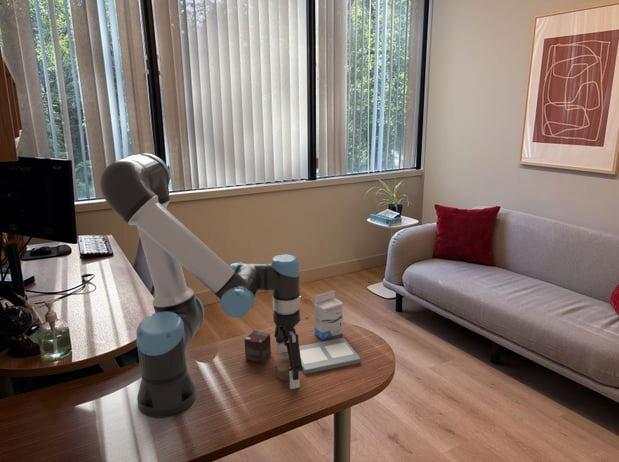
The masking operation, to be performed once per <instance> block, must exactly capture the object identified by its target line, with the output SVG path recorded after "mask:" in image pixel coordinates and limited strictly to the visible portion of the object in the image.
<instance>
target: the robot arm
mask: <svg viewBox="0 0 619 462" xmlns="http://www.w3.org/2000/svg"><path fill="white" fill-rule="evenodd" d="M170 180H171V172H170V169H169V167H168V166H167V164H166V163H165V161H164V160H163V159H161V158H160V157H158V155H155V154H151V153H145V152H144V153H136V154H133V155H130V156H127V157H123V158H122V159H118V160H115V161H113V162H111V163H110V164H109V165H107V166H106V167H105V169H104V170H103V171H102V173H101V176H100V181H99V186H100V192H101V195H102V196H103V199H104V200H105V202H106V203H107V205H108V206H109V207H110V208H111V209H112V211H113V212H114V213H115V214H116V215H117V216H118V217H119V218H120V219H122V220H123V221H124V222H125V223H126V224H127V225H128V226H136V228H137V232H138V235H139V236H138V237H139V239H140V242H141V246H142V250H143V253H144V256H145V260H146V263H147V267H148V271H149V274H150V277H151V278H150V279H151V281H152V284H153V288H154V292H155V297H154V298H153V300H152V306H153V311H154V313H152V314H151V315H148V316H146V317H144V319H142V320H141V322H139V324H138V325H137V328H136V339H135V341H136V342H135V343H136V346H137V352H138V358H139V368H140V373H141V374H140V375H141V380H140V385H139V389H138V393H137V396H136V398H137V399H136V400H137V406H138V407H137V408H138V410H139V411H140V412H141V414H143V415H145V416H148V417H151V418H166V417H172V416H175V415H177V414H180V413H182V412H184V411H185V410H187V409H188V408H190V406H192V405H193V403H194V402H195V401H196V397H197V391H196V390H197V389H196V385H195V384H196V383H194V380H193V379H192V376H191V374H190V373H189V370H188V365H187V355H186V351H187V347H189V344H190V343H191V341H192V340H193V339H194V337H195V335H196V333H197V332H198V331H199V329H200V328H201V326H202V323H203V320H204V317H205V309H204V304H203V303H202V301H201V299H200V298H198V297H196V295H195V292H194V290H193V289H192V288H191V287H188V286H187V283H186V279H185V275H184V270H183V268H184V269H186V270H187V271H188V272H189V273H190V274H191V275H193V276H194V277H195V279H197V280H198V281H199V282H200V283H201V284H203V285H204V286H205V287H206V288H207V289H209V290H210V291H211V292H212V293H213V294H214V295H215V296H216V297H218V299H220V307H221V310H222V312H223V313H224V314H225V315H227V317H231V318H233V319H235V318H236V319H239V318H243V317H245V316H246V315H247V314H248V313H249V312H250V310H251V309H252V308H253V306H254V304H255V302H256V301H255V300H256V298H257V295H258V293H259V291H266V292H267V291H272V308H273V311H272V312H273V313H272V317H273V323H274V324H275V329H274V338H275V342H276V356H277V355H278V354H280V353H282V352H288V357H289V362H290V367H291V368H289V369H288V370H289V371H290V381H289V389H290V390H294V389H298V388H300V387H301V386H300V385H301V382H300V381H301V380H300V376H301V375H300V374H301V373H300V371H303V370H302V363H301V356H300V349H299V346H300V344H299V342H300V341H299V334H298V333H297V331H296V328H295V326H296V325H298V324H299V323H300V321H301V310H300V307H301V306H300V303H301V302H300V300H301V299H302V296H301V295H300V289H301V288H300V282H301V281H300V279H301V278H300V277H301V275H300V274H301V273H300V262H299V259H298V258H297V257H296V256H295V255H292V254H286V253H285V254H277V255H275V256H273V257H272V259H271V262H269V263H267V262H265V263H263V262H262V263H261V262H246V261H241V262H232V263H231V264H228V263H227V262H225V261H224V260H223V259H222V258H221V257H220V256H218V255H217V253H215V252H214V251H213V250H212V249H211V248H210V247H209V246H207V245H206V244H205V243H204V242H203V241H202V240H201V239H200V238H199V237H197V236H196V235H195V234H194V233H193V232H192V231H191V230H190V229H189V228H187V227H186V226H185V225H184V224H183V223H182V222H181V221H180V220H179V219H177V218H176V217H175V215H173V213H171V212H170V211H169V209H167V208H168V207H167V206H168V205H169V203H170V202H171V197H170V194H169V191H168V190H169V189H168V187H169V185H170V182H171V181H170ZM182 266H183V268H182Z"/></svg>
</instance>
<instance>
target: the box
mask: <svg viewBox="0 0 619 462" xmlns="http://www.w3.org/2000/svg"><path fill="white" fill-rule="evenodd" d="M243 339H244V353H245V355H244V356H245V360H246V361H251V362H256V363H259V364H263V363H264V362H265V361H266V360H267V359H268V358H269V357H270V356H271V354H272V347H271V345H272V344H271V334H269V333H266V332H262V331H258V330H253V331H252V332H251V333H250V334H248V336H246V337H245V338H243Z"/></svg>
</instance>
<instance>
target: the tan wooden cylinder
mask: <svg viewBox="0 0 619 462" xmlns="http://www.w3.org/2000/svg"><path fill="white" fill-rule="evenodd" d="M276 367H277V368H276V376H277V378H278V379H279V380H281V381H285V382H290V371H289V370H288V369H289V368H291V367H290V362H289V357H288V352H287V351H286V352H282V353H280V354H278V355H277V354H276Z"/></svg>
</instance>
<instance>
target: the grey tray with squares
mask: <svg viewBox="0 0 619 462" xmlns="http://www.w3.org/2000/svg"><path fill="white" fill-rule="evenodd" d="M299 349H300V356H301V363H302V370H301V371H302V372H303V373H304V375H308V374H312V373H317V372H322V371H328V370H333V369H336V368H337V369H338V368H342V367H347V366H351V365H357V364H361V363H362V361H361V360H362V359H361V357H360V356H359V354H358V352H356V351H355V349H353V347H352V346H351V345H350V344H349V342H348V341H347V339H346V338H344V337H340V338H336V339H331V340H330V339H329V340H325V341H320V342H315V343H308V344H304V345H303V344H302V345H299Z"/></svg>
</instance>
